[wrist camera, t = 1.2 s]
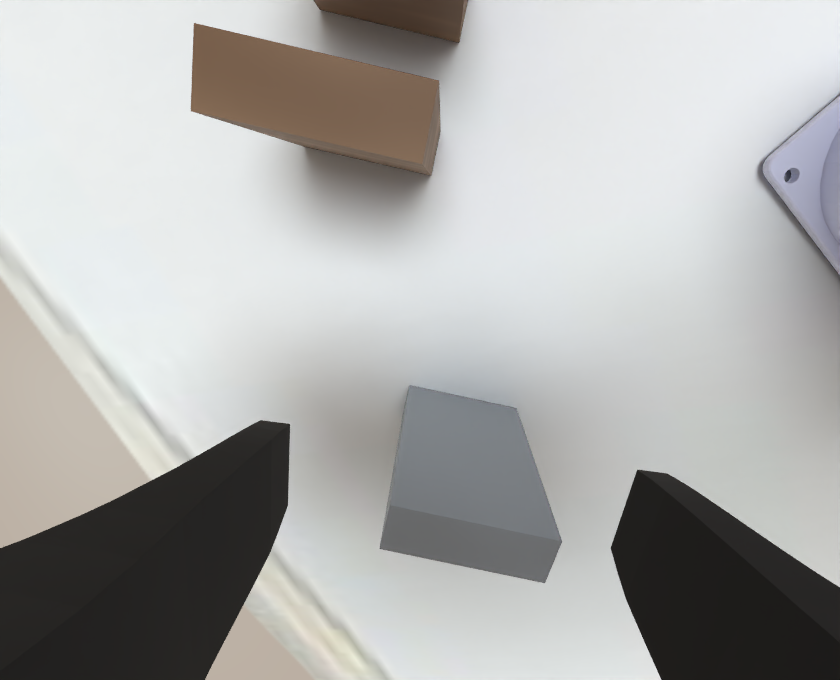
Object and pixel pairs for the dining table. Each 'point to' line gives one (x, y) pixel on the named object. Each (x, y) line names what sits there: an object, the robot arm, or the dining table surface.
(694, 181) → the dining table surface
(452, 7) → the domino
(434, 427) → the domino
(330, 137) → the domino
